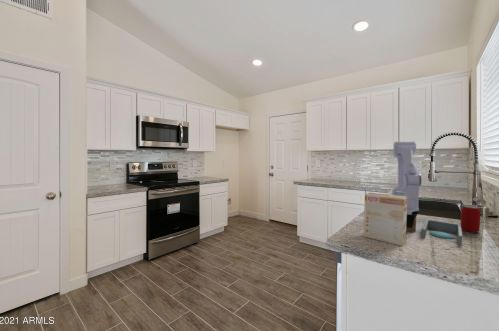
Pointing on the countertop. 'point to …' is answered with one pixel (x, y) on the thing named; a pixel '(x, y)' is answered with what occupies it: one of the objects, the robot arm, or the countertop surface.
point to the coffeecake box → (385, 218)
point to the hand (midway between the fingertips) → (410, 226)
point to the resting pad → (442, 235)
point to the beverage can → (470, 218)
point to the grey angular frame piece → (443, 228)
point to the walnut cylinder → (412, 227)
